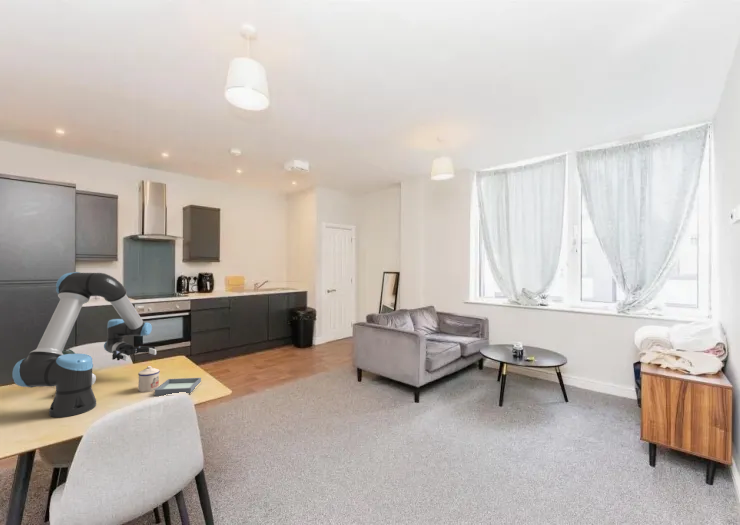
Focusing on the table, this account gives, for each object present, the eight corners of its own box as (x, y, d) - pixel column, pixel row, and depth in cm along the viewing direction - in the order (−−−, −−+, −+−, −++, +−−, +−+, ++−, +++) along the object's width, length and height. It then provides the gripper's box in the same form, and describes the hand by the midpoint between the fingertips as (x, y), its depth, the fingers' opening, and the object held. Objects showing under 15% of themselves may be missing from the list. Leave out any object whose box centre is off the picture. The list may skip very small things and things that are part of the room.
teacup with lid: (153, 392, 162) (154, 368, 163) (133, 393, 161) (134, 369, 161) (165, 383, 174) (165, 361, 174) (146, 384, 173) (147, 362, 173)
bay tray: (190, 394, 161) (190, 388, 161) (154, 396, 158) (154, 389, 158) (201, 383, 176) (201, 377, 176) (168, 384, 173) (168, 378, 173)
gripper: (147, 350, 195) (166, 356, 184) (95, 361, 173) (113, 368, 162) (147, 338, 195) (166, 343, 184) (95, 347, 173) (114, 353, 162)
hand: (141, 355), depth 173 cm, fingers open, 13 cm apart
